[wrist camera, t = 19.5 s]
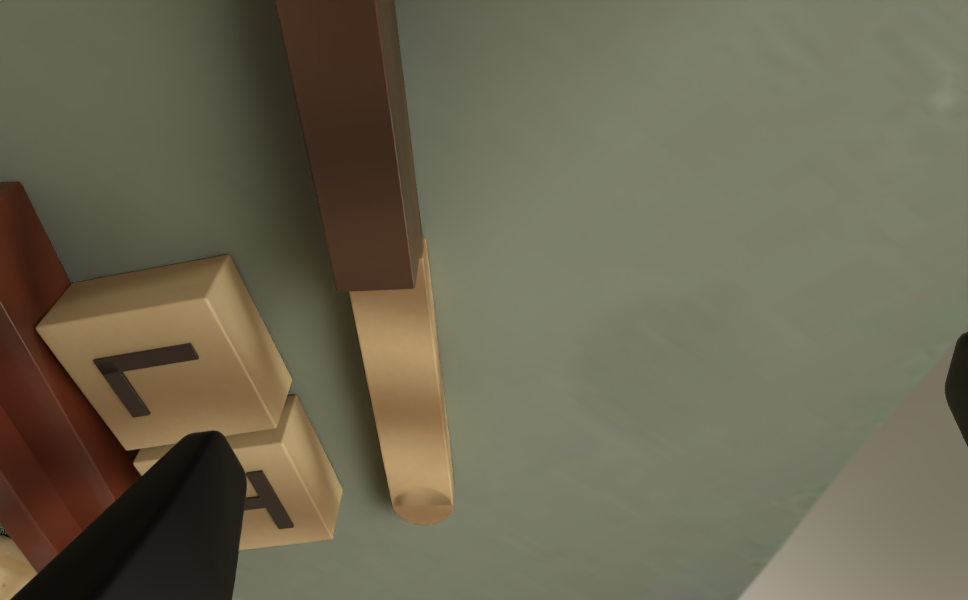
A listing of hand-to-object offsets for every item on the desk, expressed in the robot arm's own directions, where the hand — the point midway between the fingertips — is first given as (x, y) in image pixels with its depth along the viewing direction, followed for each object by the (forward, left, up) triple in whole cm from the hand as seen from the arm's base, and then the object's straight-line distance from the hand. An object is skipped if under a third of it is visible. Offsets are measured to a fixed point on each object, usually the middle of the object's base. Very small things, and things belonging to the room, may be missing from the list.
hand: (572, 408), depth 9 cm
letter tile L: (+8, -12, -12) cm, 19 cm away
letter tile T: (+14, -11, -12) cm, 22 cm away
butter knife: (+6, -4, -12) cm, 14 cm away
